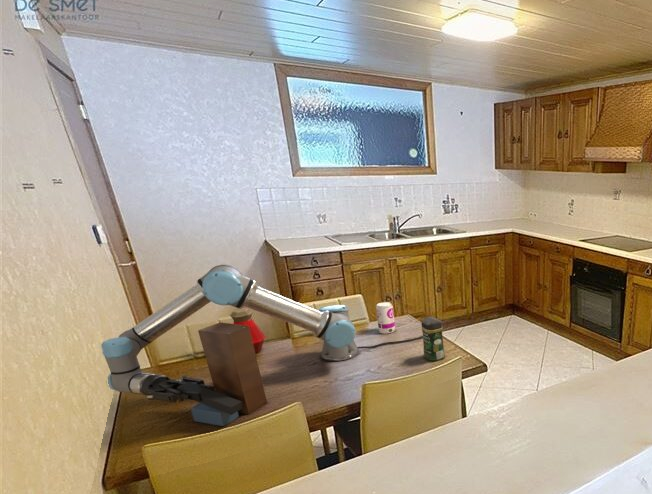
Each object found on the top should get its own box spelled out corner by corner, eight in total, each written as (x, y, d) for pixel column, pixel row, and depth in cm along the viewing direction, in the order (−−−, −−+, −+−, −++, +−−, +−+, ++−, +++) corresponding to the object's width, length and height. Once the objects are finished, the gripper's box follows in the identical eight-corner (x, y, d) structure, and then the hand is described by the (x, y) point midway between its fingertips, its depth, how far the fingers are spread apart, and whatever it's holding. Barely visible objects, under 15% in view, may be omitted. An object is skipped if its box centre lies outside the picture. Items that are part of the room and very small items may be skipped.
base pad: (194, 421, 143) (190, 408, 142) (210, 411, 149) (207, 399, 147) (223, 426, 141) (219, 413, 139) (239, 416, 146) (235, 403, 145)
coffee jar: (421, 355, 195) (418, 317, 188) (437, 351, 200) (434, 314, 193) (431, 363, 188) (428, 323, 181) (447, 358, 193) (444, 319, 186)
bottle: (269, 353, 195) (260, 312, 188) (234, 360, 188) (223, 317, 181) (266, 342, 207) (257, 303, 200) (232, 348, 200) (222, 308, 193)
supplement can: (398, 329, 225) (395, 302, 220) (388, 335, 218) (385, 307, 213) (385, 327, 228) (382, 301, 223) (375, 333, 221) (372, 305, 215)
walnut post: (220, 409, 150) (197, 330, 140) (239, 398, 158) (219, 322, 147) (248, 414, 148) (228, 333, 137) (267, 402, 155) (248, 325, 144)
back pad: (177, 394, 142) (176, 386, 141) (189, 388, 146) (188, 381, 145) (231, 415, 140) (231, 407, 138) (242, 408, 143) (241, 401, 142)
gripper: (179, 383, 156) (232, 391, 151) (128, 407, 140) (185, 417, 135) (173, 364, 153) (227, 372, 148) (120, 387, 137) (178, 396, 133)
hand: (206, 393), depth 142 cm, fingers open, 4 cm apart
